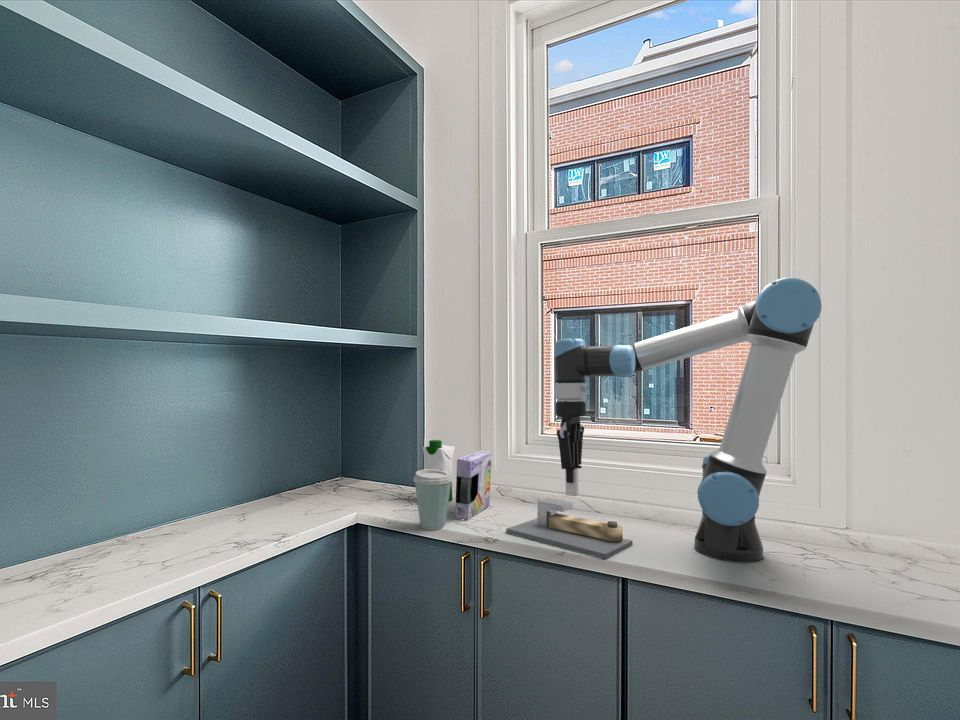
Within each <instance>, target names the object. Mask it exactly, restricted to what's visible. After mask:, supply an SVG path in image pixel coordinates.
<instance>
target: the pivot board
mask: <svg viewBox="0 0 960 720" xmlns="http://www.w3.org/2000/svg"><path fill="white" fill-rule="evenodd" d="M505 531H506V532H505V533H506V534H508V533H509V535H512V534H513V536H516V535H517V536H516V537H519V536H520V538H523V537H524V538H523V539H527V538H528V540H531V539H532V540H531V541H534V540H536V542H538V541H539V542H540V543H543V544H546V543H547V545H550V546H553V547H558V548H562V549H564V550H569V551H572V552H576V553H581V554H585V555H588V556H591V557H595V558H599V559H603V560H607V559H609V558H611V557H613V556H615V555H617V554H618V553H620V552H623V551H624V550H627V549H629V548H631V547H632V546H633V545H634V544H633V542H634V541H633V540H631V539H626V538H623V540H622V541H619V542H612V541H606V540H604V539H600V538H595V537H591V536H586V535H581V534H577V533H572V532H567V531H563V530H558V529H554V528H549V527H543V526H539V525H537V518H534V519H531V520H528V521H525V522H522V523H519V524H516V525H513V526H509V527H507V528H506V530H505Z"/></svg>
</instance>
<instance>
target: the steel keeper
mask: <svg viewBox="0 0 960 720" xmlns="http://www.w3.org/2000/svg"><path fill="white" fill-rule="evenodd" d="M573 505H574V503H573V502H571V501H566V500H563V499H562V500H561V499H556V498H551V497H546V498H542V499H539V500H537V514H536V515H537V518H536V519H537V525H539V526H543V527H549V516H551V515H553V514H556V513H558V512H562V513H563V512H564V513H565V512H566V511H569V510H573V508H574V506H573Z"/></svg>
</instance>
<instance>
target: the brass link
mask: <svg viewBox="0 0 960 720" xmlns="http://www.w3.org/2000/svg"><path fill="white" fill-rule="evenodd" d="M549 528H554V529H558V530H563V531H567V532H572V533H577V534H581V535H586V536H591V537H595V538H600V539H604V540H606V541H612V542H619V541H622V540H623V539H624V538H623V535H624V533H623V529H624V527H623V526H622V525H620V524H618V522H617V521H613V520H610V521H607V522H603V521H598V520H594V519H593V520H592V519H588V518H582V517H578V516H573V515H568V514H563V513H562V514H561V513H558V512H557V513H556V514H553V515H551V516H549Z"/></svg>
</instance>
